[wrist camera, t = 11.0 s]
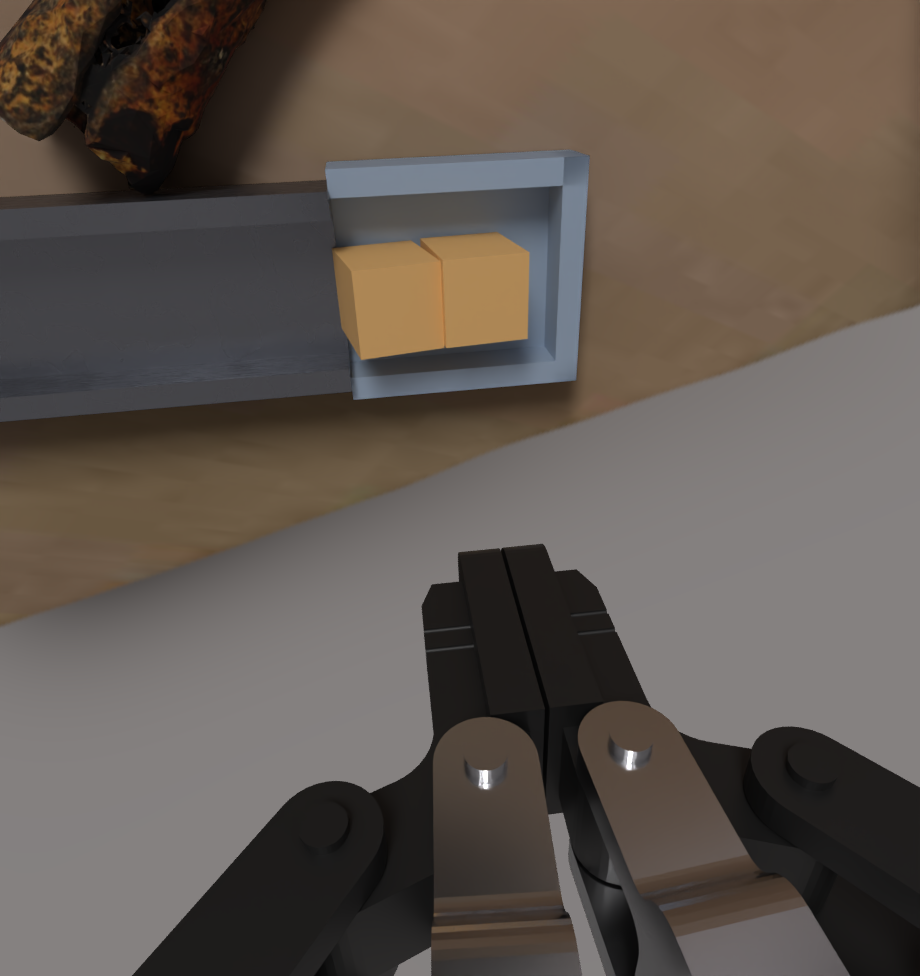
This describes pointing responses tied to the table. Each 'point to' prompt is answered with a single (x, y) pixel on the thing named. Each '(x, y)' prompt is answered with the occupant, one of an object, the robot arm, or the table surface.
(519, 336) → the cardboard box
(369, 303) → the tan cardboard cube
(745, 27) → the table surface
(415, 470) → the table surface
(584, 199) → the tray
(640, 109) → the table surface
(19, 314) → the rail
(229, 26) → the dark wooden branch
